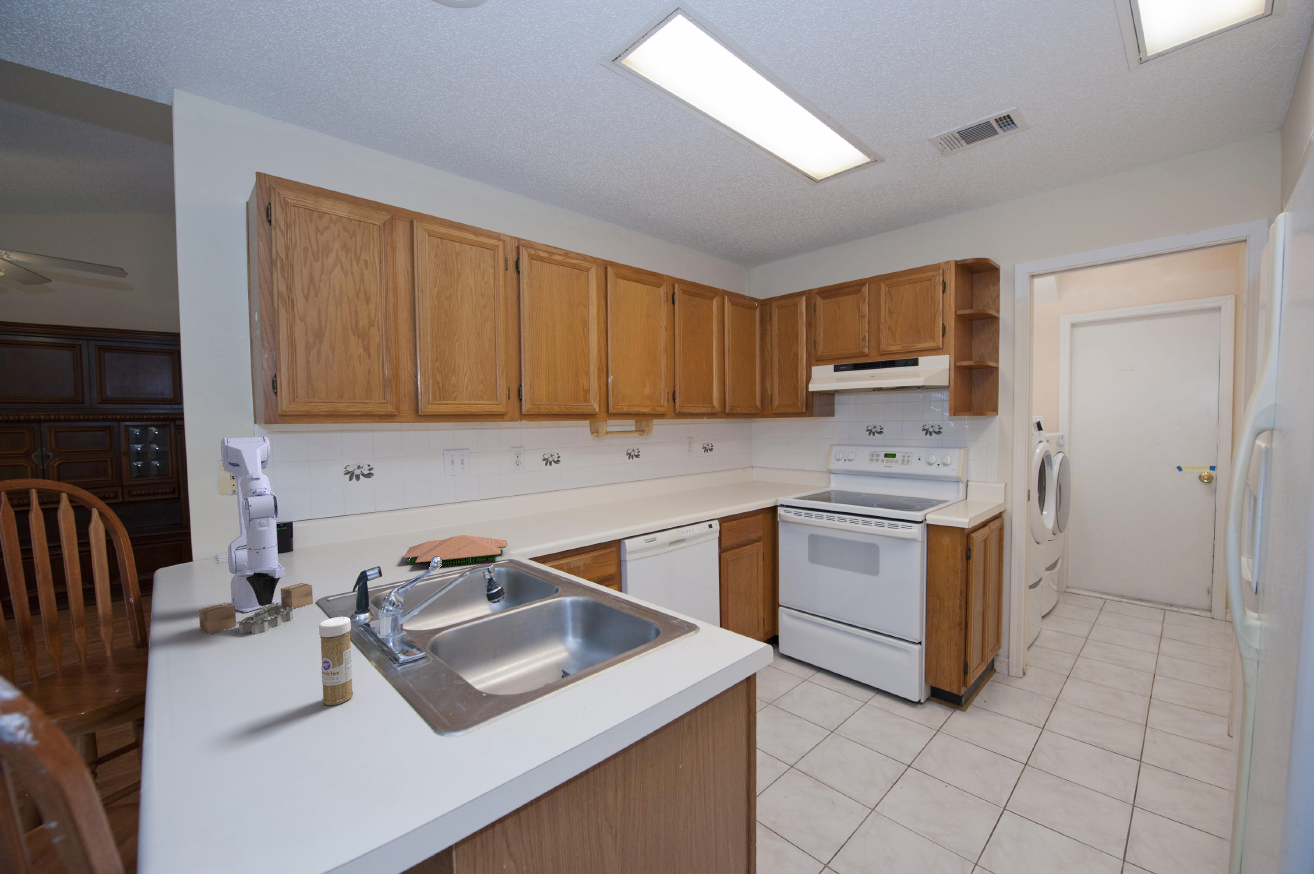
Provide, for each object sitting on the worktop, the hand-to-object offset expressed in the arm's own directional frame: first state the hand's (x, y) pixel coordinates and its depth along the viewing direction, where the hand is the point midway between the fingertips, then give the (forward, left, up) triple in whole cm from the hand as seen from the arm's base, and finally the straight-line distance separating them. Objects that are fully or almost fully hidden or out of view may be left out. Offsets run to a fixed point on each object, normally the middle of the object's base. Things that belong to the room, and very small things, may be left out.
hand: (265, 604), depth 126 cm
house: (-7, +62, -6) cm, 62 cm away
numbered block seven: (-9, -6, -5) cm, 12 cm away
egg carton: (0, 0, -5) cm, 5 cm away
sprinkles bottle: (+50, -13, -5) cm, 52 cm away
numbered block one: (-8, +11, -5) cm, 14 cm away
